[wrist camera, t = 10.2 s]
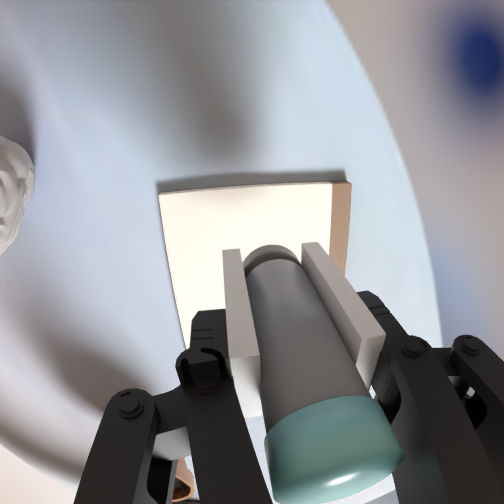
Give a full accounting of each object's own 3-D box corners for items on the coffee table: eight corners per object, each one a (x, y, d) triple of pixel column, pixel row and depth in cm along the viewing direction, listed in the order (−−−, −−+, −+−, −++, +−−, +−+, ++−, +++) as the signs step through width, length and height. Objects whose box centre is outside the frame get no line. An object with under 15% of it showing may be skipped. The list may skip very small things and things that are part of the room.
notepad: (193, 371, 22) (193, 377, 22) (160, 192, 17) (158, 195, 16) (329, 355, 23) (332, 361, 23) (347, 181, 17) (351, 183, 17)
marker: (240, 303, 14) (272, 512, 5) (235, 245, 13) (274, 472, 4) (301, 296, 15) (382, 485, 6) (302, 239, 13) (423, 431, 4)
